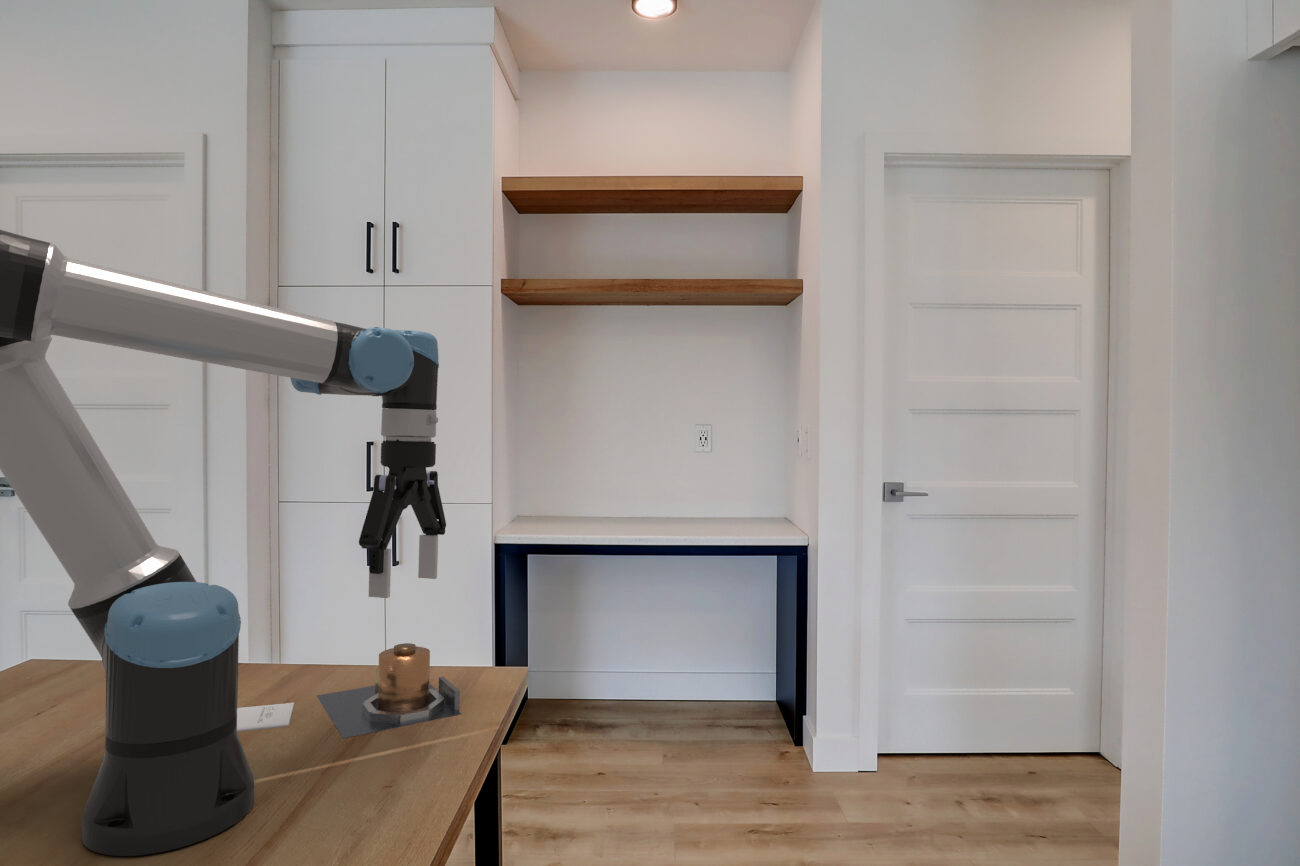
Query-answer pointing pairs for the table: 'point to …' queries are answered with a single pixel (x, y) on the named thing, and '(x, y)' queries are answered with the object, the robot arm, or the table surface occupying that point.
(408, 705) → the copper knobbed cylinder
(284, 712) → the external hard drive
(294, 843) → the table surface
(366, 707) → the plate
